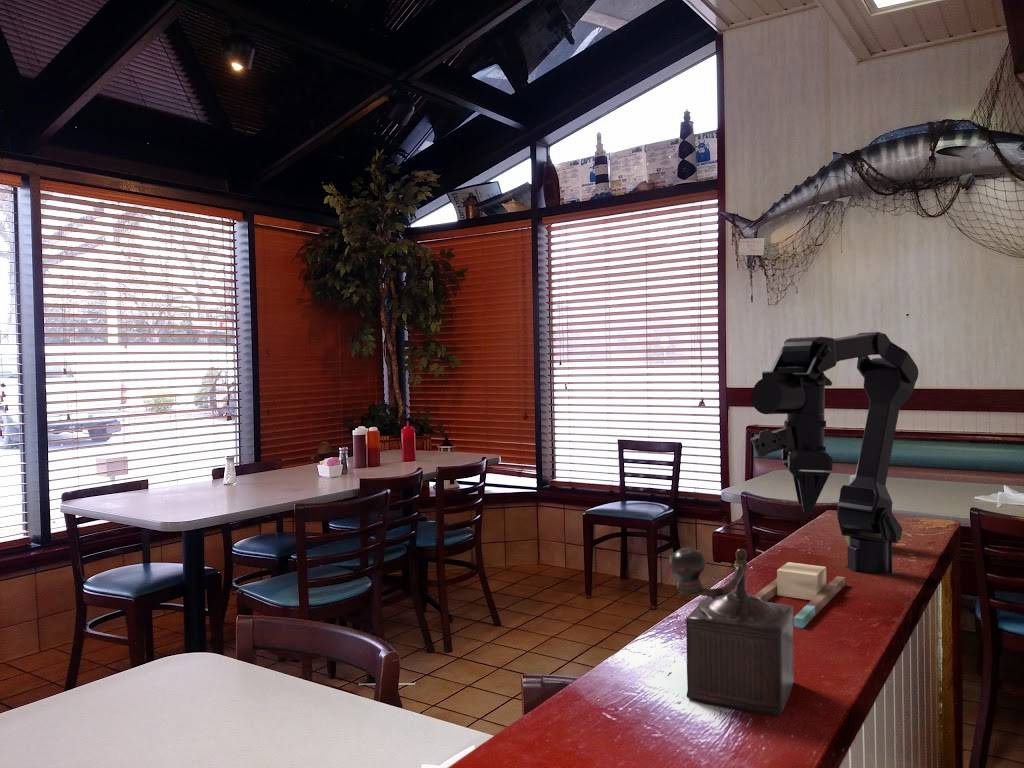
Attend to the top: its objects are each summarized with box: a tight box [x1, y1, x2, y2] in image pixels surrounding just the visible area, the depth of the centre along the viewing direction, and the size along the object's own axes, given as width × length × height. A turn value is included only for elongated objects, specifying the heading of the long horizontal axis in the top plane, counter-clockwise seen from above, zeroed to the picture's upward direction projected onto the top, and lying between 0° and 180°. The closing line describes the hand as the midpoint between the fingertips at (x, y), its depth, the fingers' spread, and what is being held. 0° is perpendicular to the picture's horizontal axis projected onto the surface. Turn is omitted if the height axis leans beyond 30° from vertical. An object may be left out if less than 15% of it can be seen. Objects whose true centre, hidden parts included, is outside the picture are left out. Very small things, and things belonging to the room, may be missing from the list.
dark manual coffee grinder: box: [668, 547, 795, 717], centre depth 87 cm, size 16×11×18 cm
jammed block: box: [776, 561, 827, 601], centre depth 124 cm, size 6×6×4 cm
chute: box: [753, 575, 846, 629], centre depth 121 cm, size 25×10×2 cm, turn 144°
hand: (804, 508), depth 127 cm, fingers open, 9 cm apart
